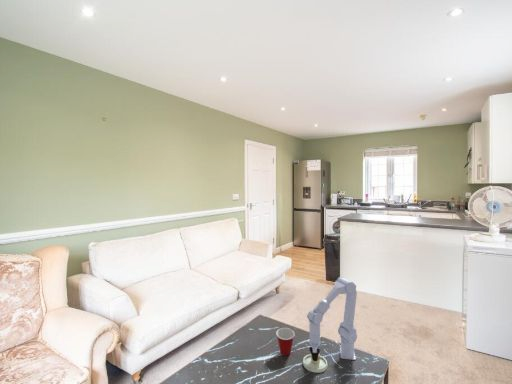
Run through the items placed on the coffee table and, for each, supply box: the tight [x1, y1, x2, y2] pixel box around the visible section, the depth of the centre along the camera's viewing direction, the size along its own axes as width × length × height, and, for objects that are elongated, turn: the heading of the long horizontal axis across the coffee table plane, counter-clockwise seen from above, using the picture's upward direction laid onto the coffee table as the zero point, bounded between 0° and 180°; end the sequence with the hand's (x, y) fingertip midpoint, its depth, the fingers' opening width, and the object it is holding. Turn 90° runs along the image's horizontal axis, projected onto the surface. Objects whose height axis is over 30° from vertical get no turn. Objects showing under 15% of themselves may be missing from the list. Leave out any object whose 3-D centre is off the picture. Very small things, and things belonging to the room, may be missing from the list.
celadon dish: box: [302, 353, 328, 374], centre depth 149 cm, size 13×13×2 cm
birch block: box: [310, 353, 321, 364], centre depth 148 cm, size 4×4×4 cm
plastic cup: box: [275, 327, 296, 356], centre depth 159 cm, size 11×11×12 cm
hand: (315, 357), depth 149 cm, fingers closed on birch block, 4 cm apart
